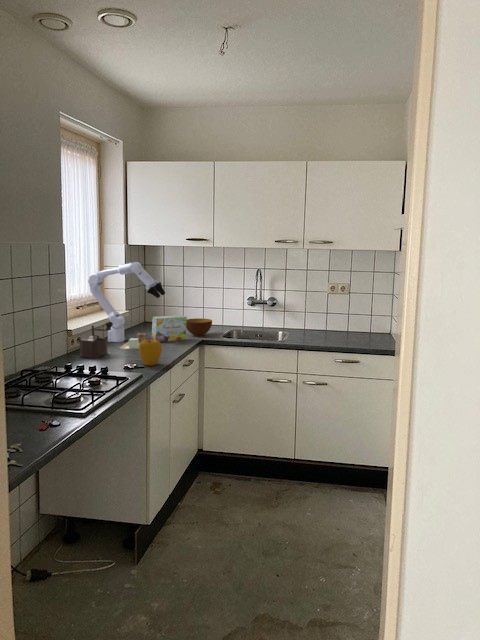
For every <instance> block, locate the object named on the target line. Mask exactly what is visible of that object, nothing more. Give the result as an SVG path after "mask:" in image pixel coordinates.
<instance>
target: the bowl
mask: <svg viewBox="0 0 480 640" xmlns="http://www.w3.org/2000/svg"><path fill="white" fill-rule="evenodd" d="M212 324H213V320H212V319H210V318H189V319H188V318H187V321H186V331H188V332H189V333H190V334H191V335H193V336H194V337H195V336H198V337H199V336H201V337H204V335H205V334H207V333H208V332H210V330H211V328H212V326H213V325H212ZM199 338H200V337H199Z"/></svg>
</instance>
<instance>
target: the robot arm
mask: <svg viewBox="0 0 480 640" xmlns="http://www.w3.org/2000/svg"><path fill="white" fill-rule="evenodd" d="M133 273H134V274H135V275H136V276H137V277H138V279H139V280H140V281H141V282H142V284H144V286H145V289H146V290H147V291H146V292H147V294H151V295H153V297H155V298H157V299H159V298H160V297H161V296H164V295H165V294H166V291H165V290H164V288H163V286H162V283H161V281H158V279H154V278H153V277H152V276H151V275H150V274H149V273H148V272H147V271H146V269H144V267H142V264H141V263H140V262H138V261H134V262H129V263H120V264H119V265H118V267H116V268H115V267H114V268H110V269H105V270H99V271H97V272H95V273H91V274H89V276H88V279H87V283H88V286H89V292H90V293H91V294H92V296H93V297H94V298H95V300H96V301H97V303H98V304H99V305H100V306H101V308H102V309H103V311H104V312H105V314H106V315H107V317H108V321H110V322H112V323H113V326H112V327H111V330H109V331H107V343H109V342H113V343H114V342H115V343H116V342H117V343H118V342H119V343H120V342H121V343H122V342H125V323H126V318H125V316H123V315H121V314H120V312H118V311H117V310H116V309H115V308H114V306H113V305H112V304H111V303H110V301H109V300H108V298H107V297H106V296H105V295H104V293H103V292H102V290H101V287H102V284H103V283H104V281H105V279H106V278H107V277H108V276H111V275H116V274H120V275H121V276H123V275H127V274H129V275H130V274H133Z"/></svg>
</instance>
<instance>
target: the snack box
mask: <svg viewBox="0 0 480 640" xmlns="http://www.w3.org/2000/svg"><path fill="white" fill-rule="evenodd" d="M187 319H188V318H187V316H186V315H181V314H180V315H179V314H178V315H163V316H162V315H161V316H152V324H151V339H150V340H157V341H159V342H160V343H165V342H166V343H167V342H174V341H177V342H180V341H185V340H186V333H187V328H186V321H187Z"/></svg>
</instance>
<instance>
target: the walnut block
mask: <svg viewBox="0 0 480 640" xmlns="http://www.w3.org/2000/svg"><path fill="white" fill-rule="evenodd" d="M136 338H139V343H140V342H141V341H143V340H147V333H145V332H144V333H140V332H139V333H137V334H136Z"/></svg>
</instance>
